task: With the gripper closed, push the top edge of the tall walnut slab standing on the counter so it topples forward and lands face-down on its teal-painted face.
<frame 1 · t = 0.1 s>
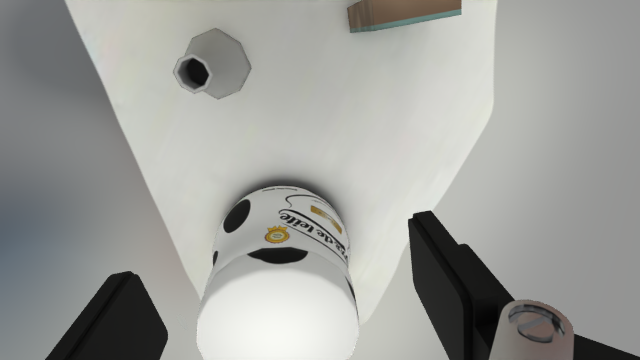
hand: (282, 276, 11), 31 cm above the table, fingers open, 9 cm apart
flask: (217, 64, 38), on the table
walnut slab: (379, 14, 37), on the table
milk container: (283, 231, 47), on the table
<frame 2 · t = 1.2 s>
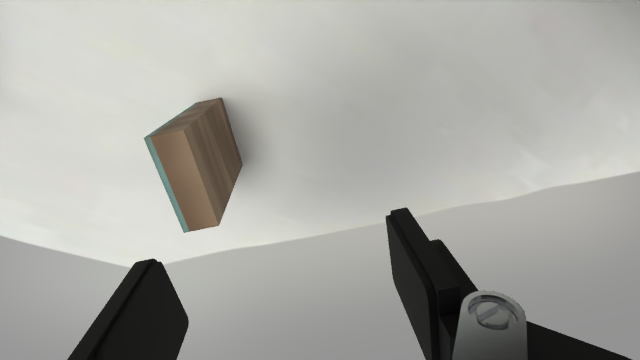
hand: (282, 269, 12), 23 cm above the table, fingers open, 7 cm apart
walnut slab: (220, 135, 33), on the table
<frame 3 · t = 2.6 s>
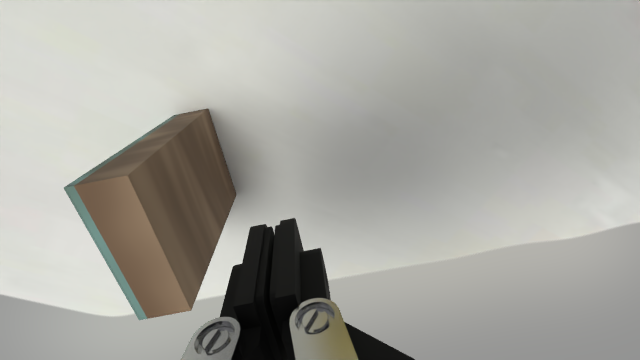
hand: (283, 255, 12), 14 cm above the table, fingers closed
walnut slab: (206, 157, 25), on the table
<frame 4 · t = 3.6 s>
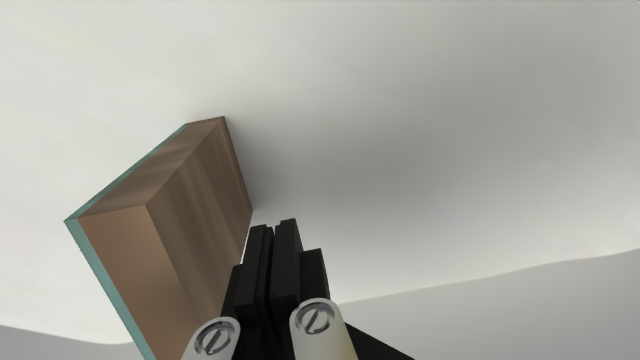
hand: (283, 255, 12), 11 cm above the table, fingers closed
walnut slab: (221, 170, 22), on the table
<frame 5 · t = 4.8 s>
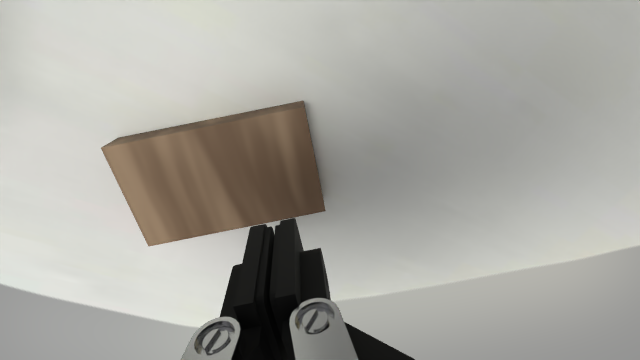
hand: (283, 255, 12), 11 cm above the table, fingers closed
walnut slab: (314, 155, 21), point 1 cm above the table, tilted 90°
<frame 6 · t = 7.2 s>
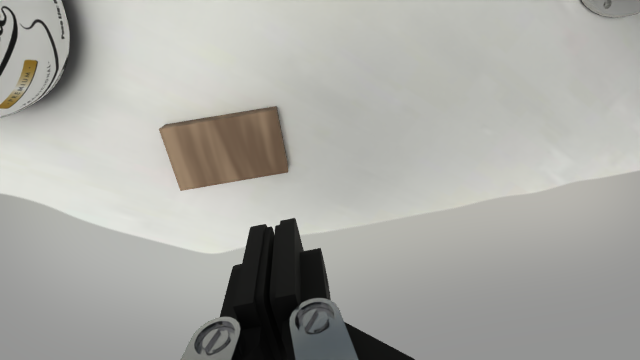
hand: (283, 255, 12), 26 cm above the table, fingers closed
walnut slab: (282, 139, 36), point 1 cm above the table, tilted 90°
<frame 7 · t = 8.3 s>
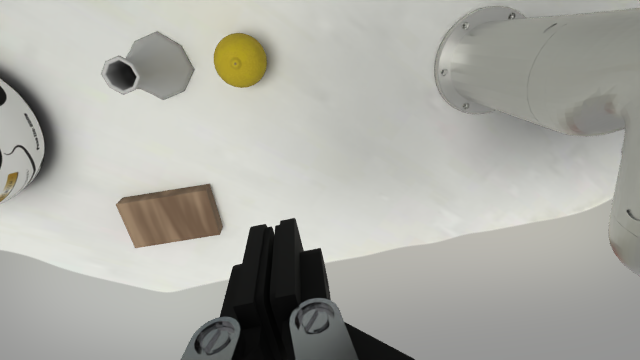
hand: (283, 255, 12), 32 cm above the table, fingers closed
lemon: (246, 58, 39), on the table
flask: (161, 66, 39), on the table
walnut slab: (215, 208, 46), point 1 cm above the table, tilted 90°
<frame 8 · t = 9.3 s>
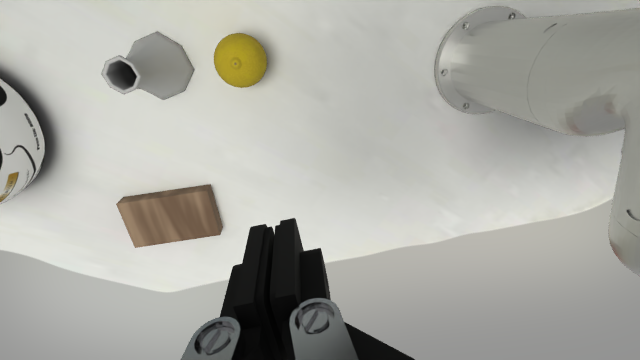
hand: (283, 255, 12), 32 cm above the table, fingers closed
lemon: (246, 58, 39), on the table
flask: (161, 66, 39), on the table
walnut slab: (215, 209, 46), point 1 cm above the table, tilted 90°
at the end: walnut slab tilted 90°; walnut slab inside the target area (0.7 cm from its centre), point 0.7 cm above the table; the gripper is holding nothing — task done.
